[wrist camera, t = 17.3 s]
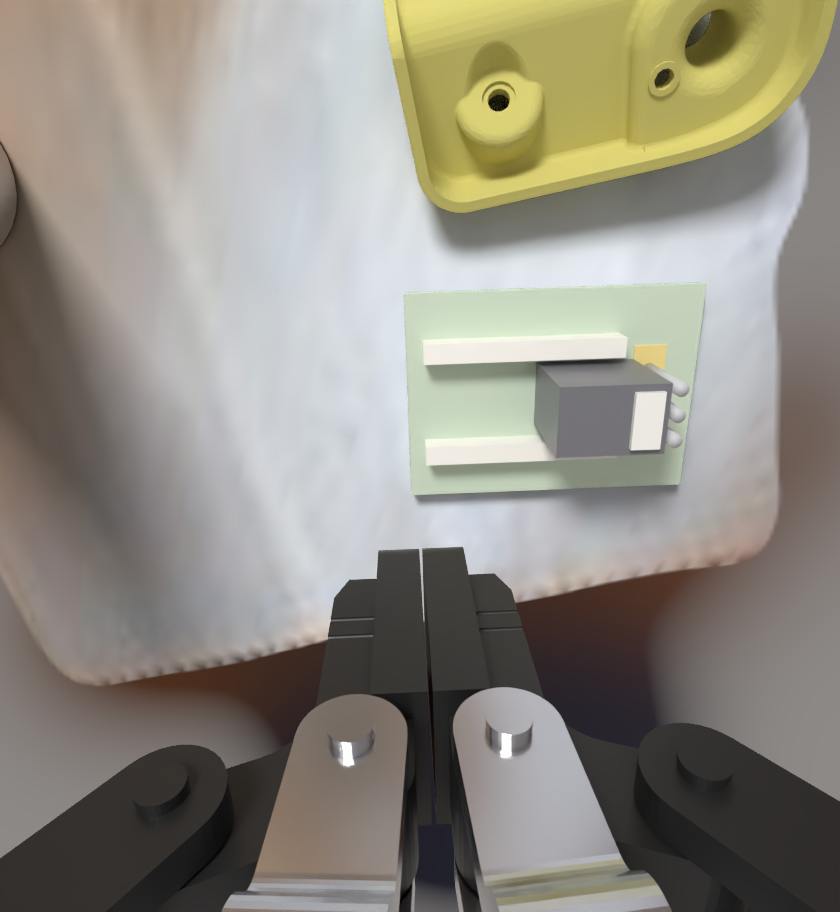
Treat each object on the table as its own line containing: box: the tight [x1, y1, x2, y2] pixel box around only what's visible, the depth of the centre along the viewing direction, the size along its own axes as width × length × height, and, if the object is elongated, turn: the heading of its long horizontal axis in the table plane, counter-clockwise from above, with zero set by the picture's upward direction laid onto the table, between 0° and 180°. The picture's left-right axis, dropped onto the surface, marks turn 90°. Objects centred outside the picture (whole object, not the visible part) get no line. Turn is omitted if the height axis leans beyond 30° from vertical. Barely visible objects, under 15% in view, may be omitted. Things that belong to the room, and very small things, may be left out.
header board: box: [404, 282, 707, 495], centre depth 37 cm, size 18×13×6 cm
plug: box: [534, 359, 673, 458], centre depth 36 cm, size 6×4×6 cm, turn 91°
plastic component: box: [383, 0, 838, 213], centre depth 32 cm, size 20×7×10 cm
